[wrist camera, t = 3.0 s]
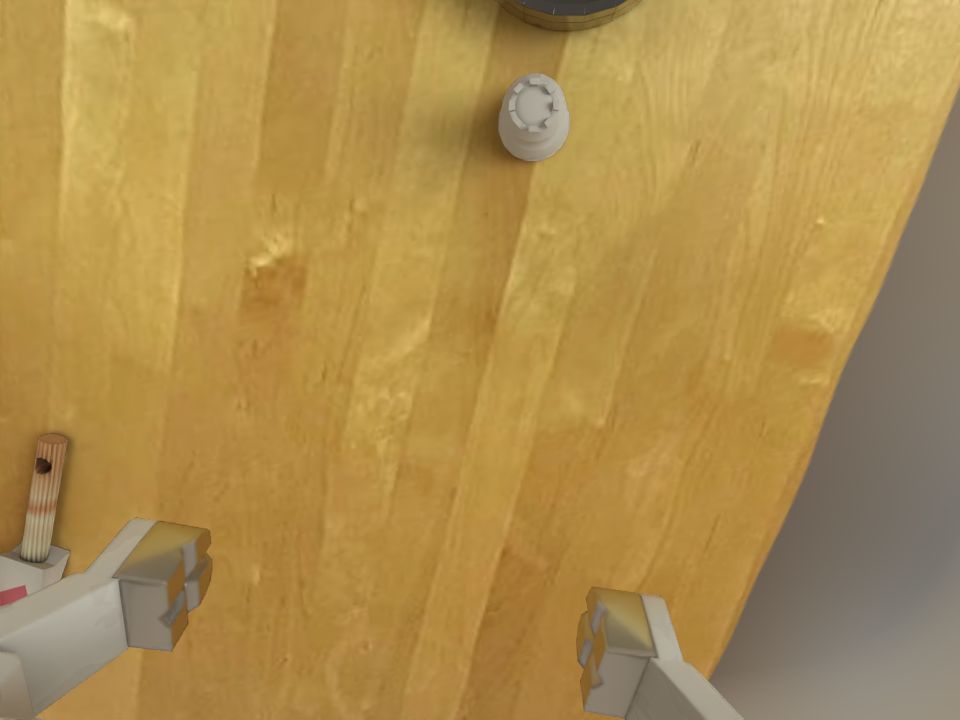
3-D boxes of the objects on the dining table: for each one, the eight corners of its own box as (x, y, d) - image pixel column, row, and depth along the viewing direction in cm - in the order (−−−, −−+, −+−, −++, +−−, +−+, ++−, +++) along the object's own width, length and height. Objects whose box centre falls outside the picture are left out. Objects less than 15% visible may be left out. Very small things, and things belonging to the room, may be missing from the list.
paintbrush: (-20, 655, 48) (15, 437, 44) (9, 632, 51) (45, 425, 46) (25, 670, 48) (64, 454, 44) (51, 647, 51) (91, 441, 46)
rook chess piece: (506, 79, 37) (499, 47, 29) (577, 93, 36) (589, 65, 29) (491, 154, 38) (481, 142, 30) (560, 168, 38) (567, 160, 30)
